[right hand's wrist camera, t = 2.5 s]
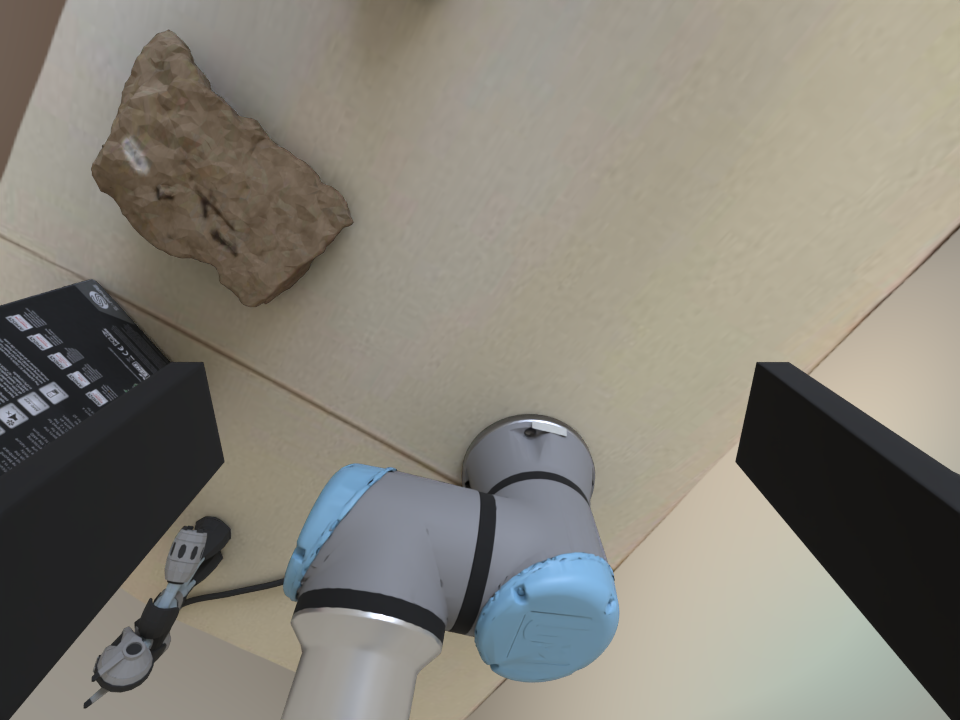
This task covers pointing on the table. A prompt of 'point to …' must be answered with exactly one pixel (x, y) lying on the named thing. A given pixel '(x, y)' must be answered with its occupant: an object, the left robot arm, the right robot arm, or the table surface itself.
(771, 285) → the table surface
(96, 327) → the graphics card box
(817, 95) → the table surface
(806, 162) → the table surface
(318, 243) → the stone
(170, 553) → the robot
